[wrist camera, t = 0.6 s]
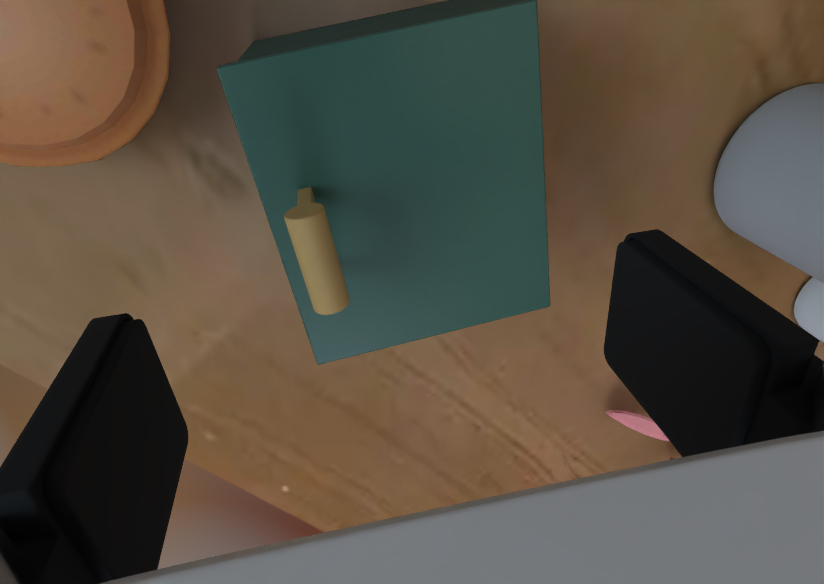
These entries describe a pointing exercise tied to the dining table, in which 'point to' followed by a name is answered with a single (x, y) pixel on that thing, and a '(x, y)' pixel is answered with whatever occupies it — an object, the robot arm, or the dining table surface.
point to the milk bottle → (811, 308)
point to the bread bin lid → (402, 176)
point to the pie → (78, 77)
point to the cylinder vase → (778, 179)
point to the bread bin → (367, 26)
